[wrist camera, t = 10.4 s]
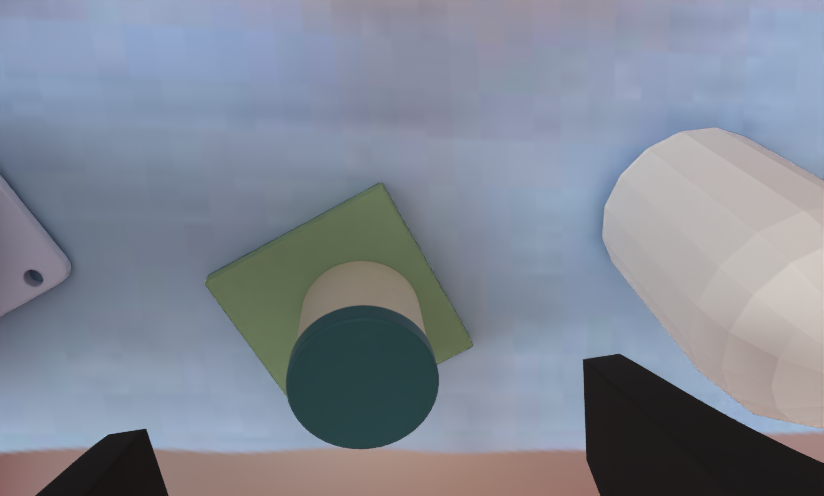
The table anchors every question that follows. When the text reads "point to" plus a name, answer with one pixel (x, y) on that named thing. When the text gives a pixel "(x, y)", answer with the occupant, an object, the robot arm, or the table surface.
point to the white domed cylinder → (729, 264)
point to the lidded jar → (361, 358)
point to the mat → (317, 253)
